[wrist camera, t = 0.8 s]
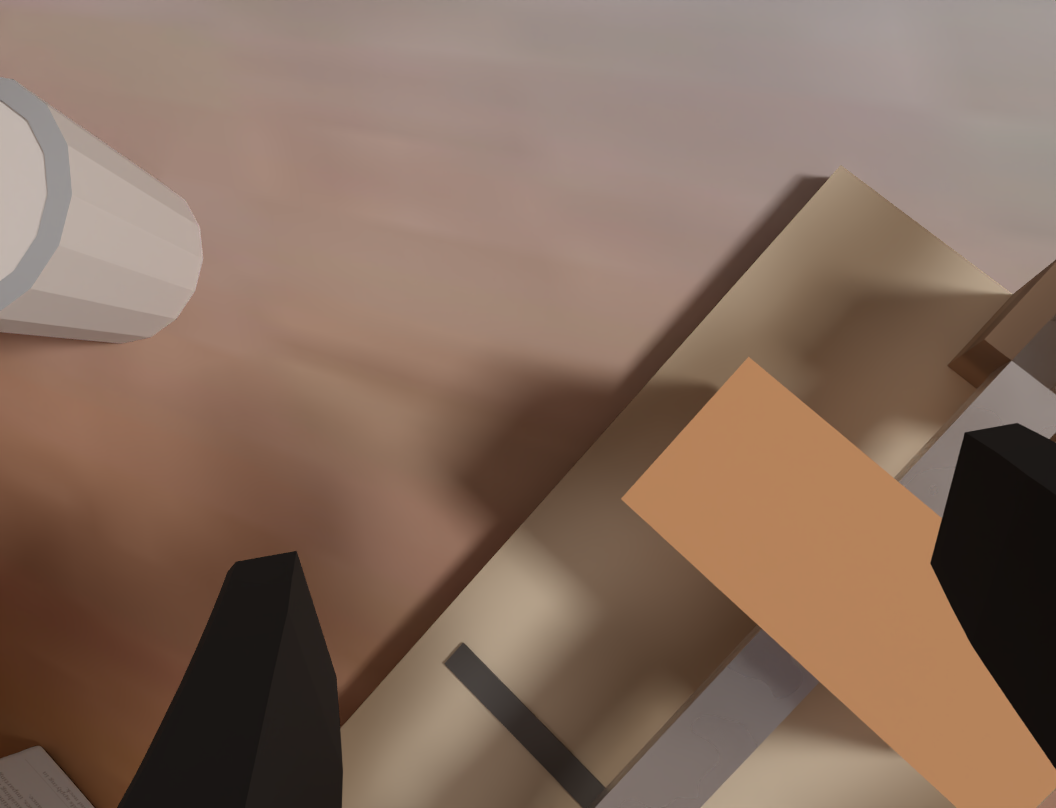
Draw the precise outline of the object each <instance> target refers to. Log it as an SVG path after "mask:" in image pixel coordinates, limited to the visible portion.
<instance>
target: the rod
mask: <svg viewBox="0 0 1056 808" xmlns="http://www.w3.org/2000/svg"><path fill="white" fill-rule="evenodd" d="M1055 315H1056V314H1055ZM1052 318H1053V317H1052ZM1050 320H1051V319H1050ZM1050 320H1049V321H1050ZM1054 320H1055V319H1054ZM1049 321H1048V322H1049ZM1055 321H1056V320H1055ZM1048 322H1047V324H1048ZM1050 322H1051V321H1050ZM1053 323H1054V322H1053ZM1055 324H1056V323H1055ZM1049 325H1050V326H1051V323H1049ZM1045 326H1046V324H1045ZM1047 326H1048V325H1047ZM1047 326H1046V327H1045V328H1046V329H1047V328H1048V327H1047ZM1053 326H1054V325H1052V328H1055V327H1056V326H1054V327H1053ZM1043 328H1044V327H1043ZM1043 328H1042V329H1041V330H1042V331H1043V330H1044V329H1043ZM1046 329H1045V330H1046ZM1049 329H1051V328H1049ZM1054 330H1055V329H1054ZM1054 330H1053V331H1051V333H1053V332H1054ZM1042 331H1041V333H1042ZM1046 331H1048V329H1047V330H1046ZM1046 331H1045V334H1046V335H1047V332H1046ZM1039 332H1040V331H1039ZM1039 332H1038V334H1039ZM1043 332H1044V331H1043ZM1048 333H1050V332H1048ZM1051 333H1050V334H1051ZM1054 333H1055V332H1054ZM1054 333H1053V334H1054ZM1043 334H1044V333H1043ZM1055 335H1056V334H1055ZM1055 335H1053V336H1055ZM1039 336H1040V335H1039ZM1042 336H1044V335H1042ZM1047 336H1048V337H1051V336H1052V335H1051V336H1049V335H1047ZM1047 336H1046V337H1047ZM1034 337H1035V336H1034ZM1036 338H1037V337H1036ZM1038 339H1039V338H1038ZM1038 339H1036V340H1038ZM1041 339H1042V337H1041ZM1041 339H1040V340H1041ZM1048 339H1049V338H1048ZM1052 339H1053V338H1052ZM1052 339H1051V340H1052ZM1054 339H1055V338H1054ZM1054 339H1053V340H1054ZM1036 340H1035V341H1036ZM1043 340H1044V339H1043ZM1033 341H1034V340H1033ZM1038 341H1039V340H1038ZM1045 341H1046V338H1045ZM1054 341H1055V340H1054ZM1030 342H1031V341H1030ZM1036 342H1037V341H1036ZM1041 342H1042V341H1041ZM1041 342H1038V344H1040V343H1041ZM1047 342H1048V340H1047V341H1046V343H1047ZM1043 343H1044V342H1043ZM1046 343H1045V344H1046ZM1048 343H1049V342H1048ZM1052 343H1053V341H1052ZM1034 344H1035V345H1036V344H1037V343H1034ZM1045 344H1044V345H1045ZM1050 344H1051V343H1049V344H1048V345H1049V346H1050ZM1054 344H1055V343H1054ZM1054 344H1052V345H1053V347H1055V346H1054ZM1027 345H1028V344H1027ZM1031 345H1032V346H1033V344H1031ZM1040 345H1041V344H1040ZM1044 345H1043V346H1041V347H1042V348H1043V347H1044ZM1046 345H1047V344H1046ZM1046 345H1045V346H1046ZM1037 346H1038V345H1037ZM1025 347H1026V346H1025ZM1027 347H1028V346H1027ZM1027 347H1026V348H1027ZM1029 347H1030V346H1029ZM1038 347H1039V348H1041V347H1040V346H1038ZM1038 347H1036V348H1035V347H1034V348H1035V350H1036V349H1037V348H1038ZM1046 347H1047V346H1046ZM1031 348H1032V347H1031ZM1034 348H1033V349H1032V350H1034ZM1039 348H1038V350H1039ZM1047 348H1048V347H1047ZM1047 348H1046V349H1047ZM1049 348H1050V347H1049ZM1023 349H1025V348H1023ZM1054 349H1055V348H1054ZM1029 350H1030V349H1029ZM1029 350H1027V351H1026V353H1025V355H1024V353H1023V352H1024V351H1025V350H1021V351H1020V352H1021V353H1023V354H1022V355H1021V354H1020V353H1018V354H1020V355H1021V356H1023V355H1024V356H1028V355H1029V353H1027V352H1028V351H1029ZM1032 350H1031V352H1033V351H1032ZM1035 350H1034V351H1035ZM1042 350H1043V349H1042ZM1042 350H1041V351H1042ZM1022 351H1023V352H1022ZM1041 351H1040V352H1041ZM1044 351H1046V350H1045V349H1044ZM1054 351H1055V350H1054ZM1035 352H1037V351H1035ZM1042 352H1043V351H1042ZM1049 352H1050V351H1049ZM1049 352H1048V353H1049ZM1051 352H1052V351H1051ZM1038 353H1039V352H1038ZM1046 353H1047V351H1046ZM1046 353H1045V354H1042V355H1048V356H1049V355H1050V354H1052V353H1050V354H1048V353H1047V354H1046ZM1054 353H1056V352H1054ZM1018 354H1017V356H1018V357H1021V356H1020V355H1018ZM1027 354H1028V355H1027ZM1030 354H1031V355H1032V353H1030ZM1033 354H1035V353H1034V352H1033ZM1036 355H1037V353H1036ZM1039 355H1040V354H1038V355H1037V356H1036V357H1037V359H1038V356H1039ZM1052 355H1053V356H1054V354H1052ZM1034 356H1035V355H1034ZM1053 356H1052V357H1053ZM1018 357H1017V358H1018ZM1029 357H1030V356H1029ZM1031 357H1032V356H1031ZM1040 357H1042V356H1041V355H1040ZM1045 357H1046V359H1047V356H1045ZM1049 357H1050V356H1049ZM1049 357H1048V358H1049ZM1055 357H1056V356H1054V358H1055ZM1017 358H1016V359H1017ZM1023 358H1024V357H1023ZM1023 358H1021V360H1022V359H1023ZM1034 358H1035V357H1034ZM1042 358H1043V357H1042ZM1042 358H1040V359H1042ZM1014 359H1015V358H1014ZM1016 359H1015V360H1016ZM1019 359H1020V358H1019ZM1025 359H1027V360H1028V359H1029V358H1025ZM1025 359H1024V360H1025ZM1030 359H1031V358H1030ZM1035 359H1036V358H1035ZM1035 359H1034V360H1035ZM1040 359H1038V360H1039V361H1040ZM1050 359H1051V358H1049V359H1048V360H1049V361H1050V362H1051V361H1053V360H1054V359H1052V360H1050ZM1015 360H1014V361H1015ZM1032 360H1033V359H1032ZM1034 360H1033V361H1031V360H1029V361H1031V362H1033V363H1034V362H1035V361H1034ZM1042 360H1043V359H1042ZM1042 360H1041V361H1042ZM1048 360H1044V361H1045V362H1046V363H1048V364H1049V365H1050V364H1052V363H1050V362H1047V361H1048ZM1014 361H1010V362H1008V363H1007V364H1005V365H1003V366H1001V367H999V368H997V369H995V370H994V371H993V372H992V373H991V374H990V375H989V376H988V377H987V378H986V379H985V381H984V382H983V383H982V384H981V385H980V386H979V387H978V388H977V389H976V390H975V391H974V392H973V393H972V394H971V396H970V397H969V398H968V399H967V400H966V401H965V402H964V403H963V404H962V405H961V406H960V407H959V408H958V410H957V411H956V412H955V413H954V414H953V415H952V416H951V417H950V418H949V419H948V420H947V421H946V422H945V423H944V425H943V426H942V427H941V428H940V429H939V430H938V431H937V432H936V433H935V434H934V435H933V436H932V437H931V439H930V440H929V441H928V442H927V443H926V444H925V445H924V446H923V447H922V448H921V449H920V450H919V451H918V452H917V454H916V455H915V456H914V457H913V458H912V459H911V460H910V461H909V462H908V463H907V464H906V465H905V466H904V468H903V469H902V470H901V471H900V472H899V473H898V474H897V475H896V476H895V477H894V479H896V480H897V481H898V482H899V483H900V484H902V485H903V486H904V487H905V488H906V489H908V490H909V491H910V492H911V493H912V494H914V495H915V496H916V497H917V498H918V499H920V500H921V501H922V502H923V503H924V504H926V505H927V506H928V507H929V508H930V509H932V510H933V511H934V512H935V513H936V514H938V515H939V516H940V517H941V518H942V517H943V513H944V509H945V505H946V501H947V498H948V494H949V490H950V486H951V482H952V479H953V475H954V471H955V467H956V464H957V460H958V456H959V452H960V448H961V445H962V441H963V437H964V433H965V432H969V431H975V430H980V429H986V428H991V427H997V426H1003V425H1008V424H1014V423H1019V424H1021V425H1023V426H1025V427H1027V428H1029V429H1031V430H1033V431H1035V432H1037V433H1039V434H1040V435H1042V436H1044V437H1046V438H1048V439H1050V438H1051V437H1052V436H1053V435H1054V434H1055V433H1056V394H1054V393H1053V392H1052V391H1051V389H1052V388H1051V387H1049V388H1050V390H1049V389H1048V388H1047V387H1045V386H1046V385H1045V384H1047V382H1045V381H1046V380H1047V379H1046V380H1044V379H1042V380H1044V382H1042V381H1041V382H1042V383H1044V385H1045V386H1044V385H1043V384H1041V383H1040V382H1039V380H1038V379H1039V378H1040V377H1039V376H1038V375H1039V374H1036V375H1037V376H1035V373H1034V370H1033V369H1034V368H1035V367H1032V366H1031V365H1032V363H1031V362H1029V363H1031V364H1029V366H1030V367H1032V368H1031V369H1029V370H1033V372H1032V371H1031V372H1032V373H1031V372H1028V373H1029V374H1028V373H1027V372H1026V371H1025V370H1027V369H1025V370H1024V369H1023V368H1026V367H1027V366H1026V364H1025V363H1026V362H1027V361H1026V360H1025V361H1026V362H1025V363H1024V362H1023V361H1022V362H1023V363H1024V364H1025V367H1023V366H1024V365H1023V364H1022V365H1023V366H1022V365H1021V364H1020V363H1021V362H1020V361H1018V360H1017V361H1018V362H1020V363H1019V364H1018V365H1017V364H1015V362H1016V361H1015V362H1014ZM1041 361H1040V362H1041ZM1054 361H1056V360H1054ZM1054 361H1053V362H1054ZM1018 362H1016V363H1018ZM1037 362H1038V361H1037ZM1037 362H1036V363H1037ZM1040 362H1039V363H1040ZM1027 363H1028V362H1027ZM1039 363H1038V364H1039ZM1043 363H1044V362H1043ZM1043 363H1042V364H1043ZM1054 363H1055V362H1054ZM1054 363H1053V364H1054ZM1038 364H1037V365H1038ZM1055 364H1056V363H1055ZM1055 364H1054V365H1055ZM1019 365H1021V367H1023V368H1021V367H1019ZM1035 365H1036V364H1035ZM1046 365H1047V364H1046ZM1046 365H1045V366H1046ZM1049 365H1048V366H1049ZM1029 366H1028V367H1029ZM1033 366H1034V364H1033ZM1042 366H1044V364H1043V365H1042ZM1042 366H1041V367H1042ZM1050 366H1051V365H1050ZM1046 367H1047V366H1046ZM1046 367H1043V368H1046ZM1037 368H1038V367H1037ZM1037 368H1036V369H1037ZM1050 368H1051V367H1050ZM1050 368H1049V369H1050ZM1053 368H1055V366H1054V367H1053ZM1036 369H1035V370H1036ZM1039 369H1040V368H1039ZM1047 369H1048V367H1047ZM1049 369H1048V370H1049ZM1029 370H1028V371H1029ZM1048 370H1046V372H1047V371H1048ZM1036 371H1037V372H1036ZM1036 371H1035V372H1036V373H1039V372H1038V370H1036ZM1049 371H1050V370H1049ZM1055 371H1056V370H1055ZM1052 372H1054V371H1052ZM1030 373H1031V374H1033V373H1034V375H1033V376H1031V375H1030ZM1044 373H1045V371H1044ZM1047 373H1048V372H1047ZM1050 373H1051V372H1050ZM1054 373H1055V372H1054ZM1040 374H1041V373H1040ZM1042 374H1043V373H1042ZM1042 374H1041V375H1042ZM1052 374H1053V373H1052ZM1041 375H1040V376H1041ZM1045 375H1046V373H1045ZM1045 375H1044V374H1043V376H1045ZM1055 375H1056V374H1055ZM1055 375H1054V376H1055ZM1034 376H1035V377H1039V378H1036V379H1037V380H1036V379H1035V378H1034ZM1046 376H1048V375H1046ZM1050 376H1051V375H1050ZM1054 376H1052V377H1054ZM1042 378H1043V377H1042ZM1053 379H1054V378H1053ZM1053 379H1050V380H1051V381H1052V380H1053ZM1048 380H1049V379H1048ZM1048 380H1047V381H1048ZM1050 380H1049V381H1050ZM1054 380H1055V379H1054ZM1049 381H1048V382H1049ZM1051 381H1050V382H1051ZM1054 383H1055V382H1054ZM1050 384H1051V383H1050ZM1047 385H1048V384H1047ZM1052 387H1053V384H1052ZM1055 387H1056V386H1055ZM1055 389H1056V388H1055ZM1054 391H1055V390H1054ZM818 683H819V681H818V680H817V679H816V678H815V677H814V676H813V675H812V674H811V673H810V672H809V671H807V670H806V669H805V668H804V667H803V666H802V665H801V664H800V663H799V662H798V661H797V660H795V659H794V658H793V657H792V656H791V655H790V654H789V653H788V652H787V651H786V650H785V649H784V648H782V647H781V646H780V645H779V644H778V643H777V642H776V641H775V640H774V639H773V638H772V637H770V636H769V635H768V634H767V633H766V632H765V631H764V630H763V629H762V628H761V627H760V626H759V625H756V626H755V628H754V629H753V630H752V631H751V632H750V633H749V634H748V635H747V636H746V637H745V638H744V639H743V640H742V641H741V643H740V644H739V645H738V646H737V647H736V648H735V649H734V650H733V651H732V652H731V653H730V654H729V655H728V657H727V658H726V659H725V660H724V661H723V662H722V663H721V664H720V665H719V666H718V667H717V668H716V669H715V670H714V672H713V673H712V674H711V675H710V676H709V677H708V678H707V679H706V680H705V681H704V682H703V683H702V684H701V686H700V687H699V688H698V689H697V690H696V691H695V692H694V693H693V694H692V695H691V696H690V697H689V698H688V699H687V701H686V702H685V703H684V704H683V705H682V706H681V707H680V708H679V709H678V710H677V711H676V712H675V713H674V715H673V716H672V717H671V718H670V719H669V720H668V721H667V722H666V723H665V724H664V725H663V726H662V727H661V728H660V730H659V731H658V732H657V733H656V734H655V735H654V736H653V737H652V738H651V739H650V740H649V741H648V742H647V744H646V745H645V746H644V747H643V748H642V749H641V750H640V751H639V752H638V753H637V754H636V755H635V756H634V757H633V759H632V760H631V761H630V762H629V763H628V764H627V765H626V766H625V767H624V768H623V769H622V770H621V771H620V772H619V774H618V775H617V776H616V777H615V778H614V779H613V780H612V781H611V782H610V783H609V784H608V785H607V786H606V788H605V789H604V790H603V791H602V792H601V793H600V794H599V795H598V796H597V797H596V798H595V799H594V800H593V801H592V803H591V804H590V805H589V806H588V807H587V808H701V807H702V806H703V805H704V803H705V802H706V801H707V800H708V799H709V798H710V797H711V796H712V795H713V794H714V793H715V792H716V791H717V790H718V789H719V788H720V787H721V786H722V784H723V783H724V782H725V781H726V780H727V779H728V778H729V777H730V776H731V775H732V774H733V773H734V772H735V771H736V770H737V769H738V768H739V767H740V765H741V764H742V763H743V762H744V761H745V760H746V759H747V758H748V757H749V756H750V755H751V754H752V753H753V752H754V751H755V750H756V749H757V748H758V746H759V745H760V744H761V743H762V742H763V741H764V740H765V739H766V738H767V737H768V736H769V735H770V734H771V733H772V732H773V731H774V730H775V728H776V727H777V726H778V725H779V724H780V723H781V722H782V721H783V720H784V719H785V718H786V717H787V716H788V715H789V714H790V713H791V712H792V711H793V709H794V708H795V707H796V706H797V705H798V704H799V703H800V702H801V701H802V700H803V699H804V698H805V697H806V696H807V695H808V694H809V693H810V692H811V690H812V689H813V688H814V687H815V686H816V685H817V684H818Z"/></svg>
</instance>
